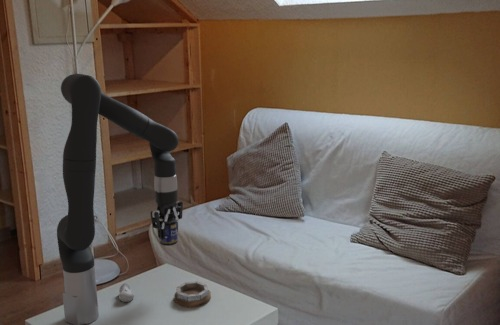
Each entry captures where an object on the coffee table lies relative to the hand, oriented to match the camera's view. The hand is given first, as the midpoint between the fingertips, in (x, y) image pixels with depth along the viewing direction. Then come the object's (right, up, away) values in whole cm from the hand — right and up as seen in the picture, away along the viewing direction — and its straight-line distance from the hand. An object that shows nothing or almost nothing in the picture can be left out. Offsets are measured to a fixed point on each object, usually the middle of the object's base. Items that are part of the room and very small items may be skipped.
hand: (168, 235), depth 179 cm
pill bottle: (0, -3, +1) cm, 3 cm away
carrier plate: (+9, -21, -2) cm, 23 cm away
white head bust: (-14, -21, -2) cm, 25 cm away
